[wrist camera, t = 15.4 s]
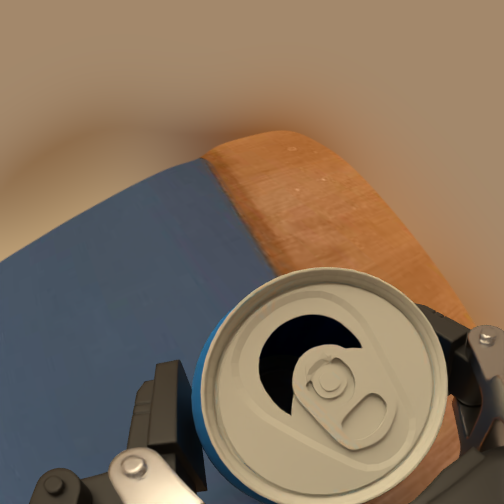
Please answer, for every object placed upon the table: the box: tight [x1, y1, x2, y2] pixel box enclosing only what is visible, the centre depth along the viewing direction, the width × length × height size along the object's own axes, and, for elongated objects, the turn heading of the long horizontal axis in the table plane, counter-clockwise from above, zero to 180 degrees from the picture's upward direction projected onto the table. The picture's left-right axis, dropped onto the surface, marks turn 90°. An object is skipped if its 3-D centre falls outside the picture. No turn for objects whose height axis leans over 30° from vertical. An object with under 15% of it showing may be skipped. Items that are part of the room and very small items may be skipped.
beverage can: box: [191, 267, 448, 504], centre depth 10 cm, size 6×6×12 cm
